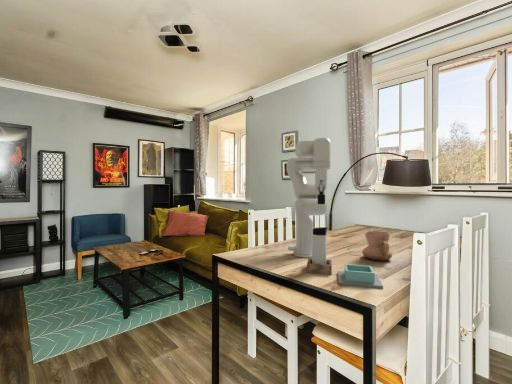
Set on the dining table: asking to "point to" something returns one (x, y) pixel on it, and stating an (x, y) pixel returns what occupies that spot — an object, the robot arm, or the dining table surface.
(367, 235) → the ceramic jug
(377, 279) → the dock
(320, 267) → the frame
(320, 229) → the travel mug
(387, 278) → the dining table surface
